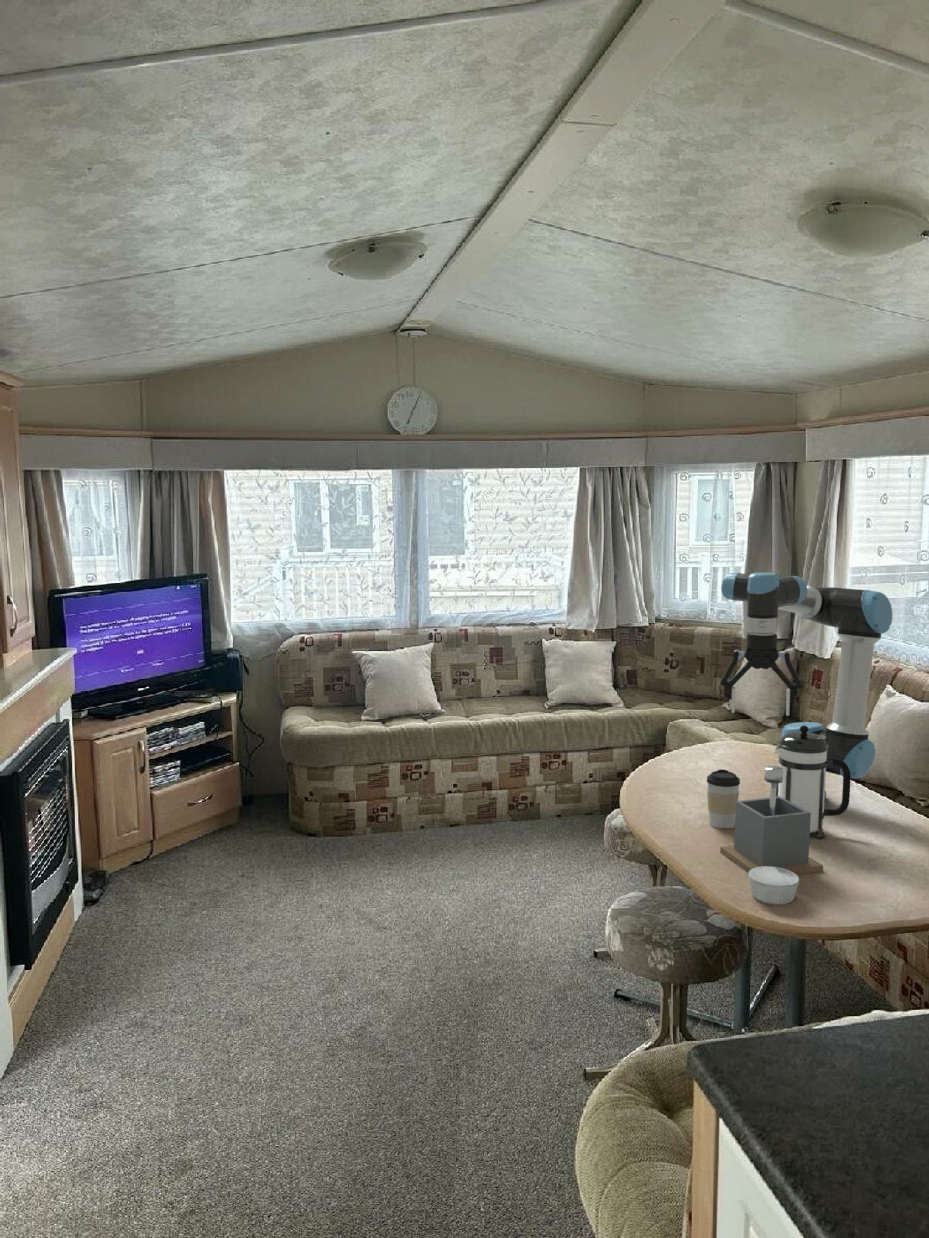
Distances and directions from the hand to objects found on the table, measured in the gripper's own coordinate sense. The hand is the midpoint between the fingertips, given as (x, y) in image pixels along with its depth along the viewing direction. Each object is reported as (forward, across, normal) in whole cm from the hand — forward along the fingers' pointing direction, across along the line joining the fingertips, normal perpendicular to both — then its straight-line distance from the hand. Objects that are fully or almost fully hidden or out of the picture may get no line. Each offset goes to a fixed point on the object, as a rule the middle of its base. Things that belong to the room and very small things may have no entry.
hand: (760, 713), depth 251 cm
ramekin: (+36, +4, -33) cm, 49 cm away
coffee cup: (+36, -10, +12) cm, 39 cm away
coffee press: (+36, +12, +13) cm, 41 cm away
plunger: (+33, +3, -12) cm, 35 cm away
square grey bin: (+36, +3, -12) cm, 38 cm away
